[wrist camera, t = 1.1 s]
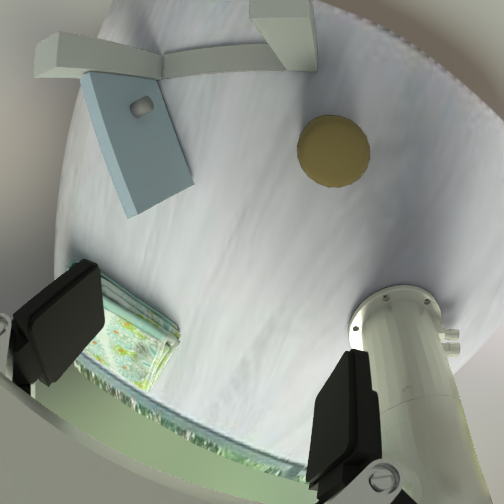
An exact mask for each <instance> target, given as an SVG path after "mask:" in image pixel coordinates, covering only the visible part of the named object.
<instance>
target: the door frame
mask: <svg viewBox="0 0 504 504" xmlns="http://www.w3.org/2000/svg"><path fill="white" fill-rule="evenodd" d="M249 19H250V20H251V22H252V23H253V24H254V25H255V27H256V28H257V29H258V31H259V32H260V33H261V35H262V36H263V37H264V39H265V40H266V41H267V43H263V44H242V45H229V46H218V47H209V48H201V49H194V50H187V51H181V52H175V53H169V54H164V79H168V78H175V77H182V76H190V75H199V74H209V73H221V72H237V71H311V72H317V40H316V30H315V21H314V12H313V4H312V0H250V5H249ZM88 72H96V73H106V74H115V75H123V76H131V77H138V78H144V79H151V80H161V79H162V56H161V55H158V54H155V53H152V52H148V51H145V50H142V49H138V48H135V47H131V46H127V45H123V44H119V43H115V42H111V41H107V40H103V39H98V38H93V37H89V36H84V35H78V34H72V33H67V32H60V31H59V32H57V33H55V34H53V35H52V36H50V37H48V38H46V39H44V40H43V41H41V42H39V43H38V44H36V51H35V63H34V78H45V77H47V78H50V77H51V78H56V77H57V78H60V77H61V78H82V77H83V76H85V75H86V74H87V73H88Z"/></svg>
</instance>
